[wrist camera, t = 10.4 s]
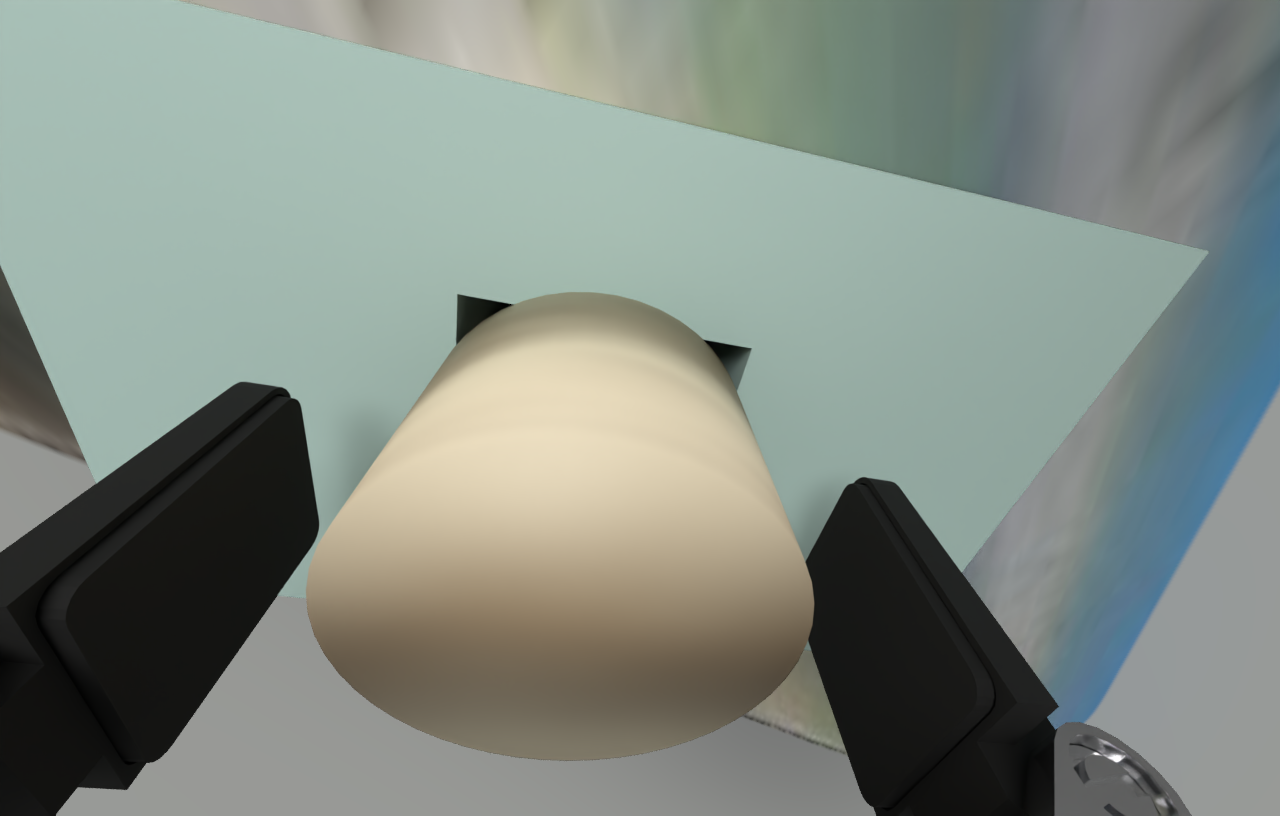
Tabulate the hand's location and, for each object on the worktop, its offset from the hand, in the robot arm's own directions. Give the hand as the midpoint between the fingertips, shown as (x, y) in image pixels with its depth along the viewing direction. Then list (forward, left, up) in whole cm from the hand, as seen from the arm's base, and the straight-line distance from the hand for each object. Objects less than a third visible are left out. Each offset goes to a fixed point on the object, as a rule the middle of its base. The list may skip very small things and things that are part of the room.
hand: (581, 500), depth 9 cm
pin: (0, 0, -7) cm, 7 cm away
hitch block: (0, 0, -7) cm, 7 cm away
